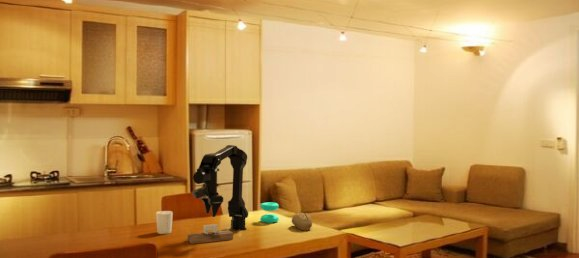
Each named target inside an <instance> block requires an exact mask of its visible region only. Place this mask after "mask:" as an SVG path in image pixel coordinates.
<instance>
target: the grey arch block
mask: <svg viewBox="0 0 579 258" xmlns="http://www.w3.org/2000/svg"><path fill="white" fill-rule="evenodd" d="M218 227H219V226H218V224H217V223H213V224H203V233H204V235H208V232H209V231H212V232H213V234H217V231H218V229H219V228H218Z"/></svg>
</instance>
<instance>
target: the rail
mask: <svg viewBox="0 0 579 258" xmlns="http://www.w3.org/2000/svg"><path fill="white" fill-rule="evenodd" d="M229 240H234V232H233V231H231V230H219V231H218V230H217V234H213V231H208V235H204V232H201V233H200V232H198V233H189V234H187V242H189V244H191V245H193V244H203V243H212V242H219V241H220V242H222V241H229Z"/></svg>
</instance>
